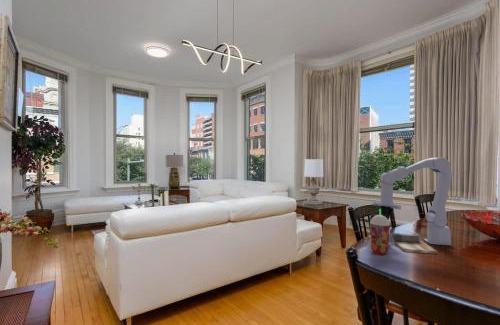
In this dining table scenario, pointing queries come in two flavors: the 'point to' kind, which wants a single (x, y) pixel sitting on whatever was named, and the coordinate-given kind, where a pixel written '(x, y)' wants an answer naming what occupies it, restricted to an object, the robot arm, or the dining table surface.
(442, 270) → the dining table surface
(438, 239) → the robot arm
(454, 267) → the dining table surface
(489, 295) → the dining table surface
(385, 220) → the smoothie
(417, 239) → the leg
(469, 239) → the dining table surface
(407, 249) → the board
